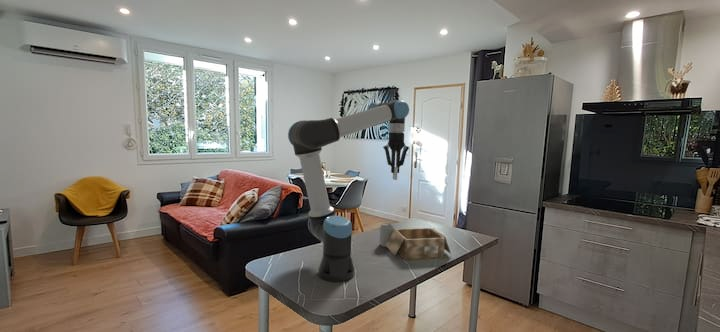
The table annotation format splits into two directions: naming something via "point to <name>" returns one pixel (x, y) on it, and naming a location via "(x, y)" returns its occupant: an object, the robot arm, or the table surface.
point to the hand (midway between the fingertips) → (394, 179)
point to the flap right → (445, 242)
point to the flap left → (394, 242)
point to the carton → (421, 244)
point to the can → (385, 233)
